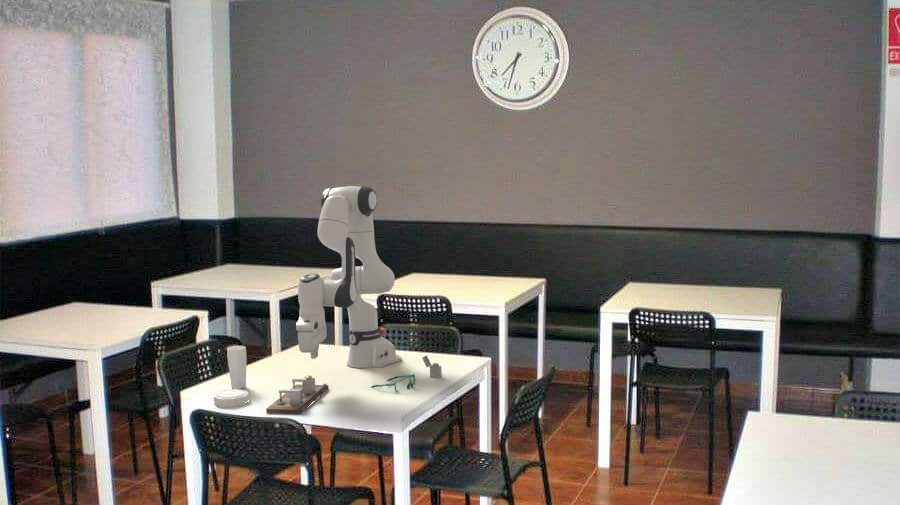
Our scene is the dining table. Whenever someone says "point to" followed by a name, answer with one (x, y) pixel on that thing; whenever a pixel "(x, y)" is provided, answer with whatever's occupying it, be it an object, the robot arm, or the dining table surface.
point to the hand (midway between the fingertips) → (314, 357)
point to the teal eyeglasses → (399, 380)
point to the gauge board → (286, 408)
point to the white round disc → (231, 398)
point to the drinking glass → (237, 366)
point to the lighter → (433, 368)
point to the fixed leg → (299, 396)
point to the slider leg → (306, 384)
